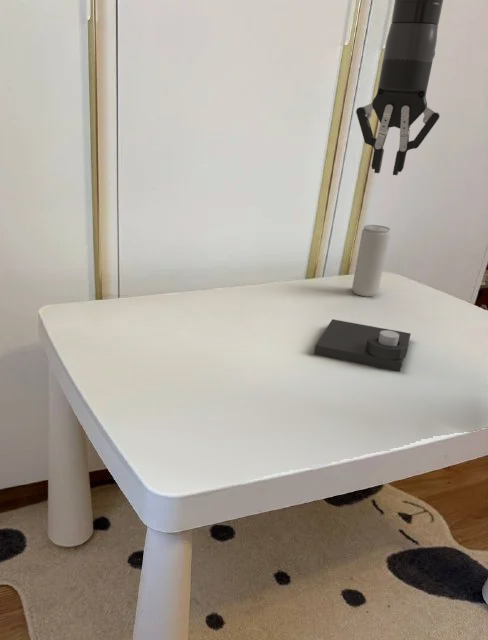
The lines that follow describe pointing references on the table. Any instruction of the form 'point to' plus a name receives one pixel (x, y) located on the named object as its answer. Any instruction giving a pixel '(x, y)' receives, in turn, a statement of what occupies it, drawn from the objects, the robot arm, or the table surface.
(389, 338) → the button
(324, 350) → the scale
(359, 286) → the beverage can
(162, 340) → the table surface
